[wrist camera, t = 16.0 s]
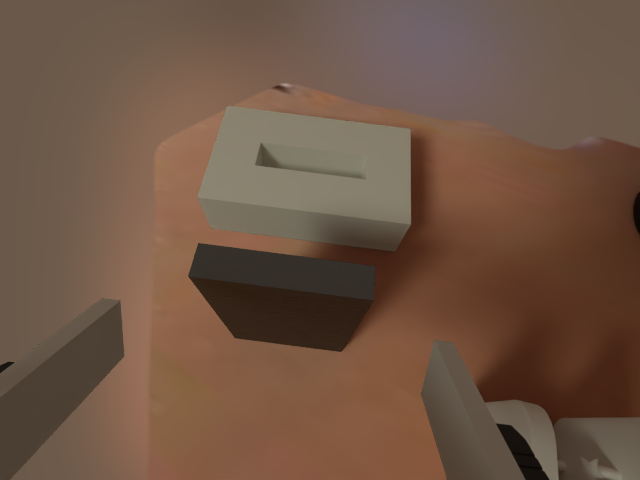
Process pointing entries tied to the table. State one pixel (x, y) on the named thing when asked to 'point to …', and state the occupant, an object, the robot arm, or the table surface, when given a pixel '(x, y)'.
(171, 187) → the table surface
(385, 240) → the slotted box
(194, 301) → the table surface
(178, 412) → the table surface
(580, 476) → the cable organizer
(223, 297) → the cover plate
